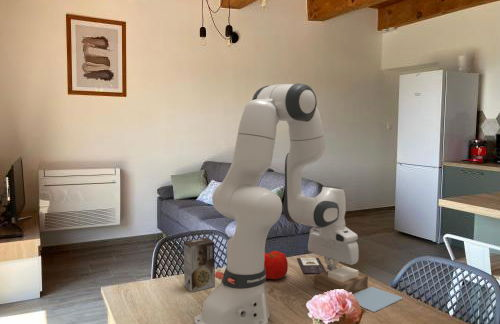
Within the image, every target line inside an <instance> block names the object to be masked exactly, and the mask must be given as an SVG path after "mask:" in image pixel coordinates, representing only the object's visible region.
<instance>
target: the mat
mask: <svg viewBox="0 0 500 324" xmlns="http://www.w3.org/2000/svg"><path fill="white" fill-rule="evenodd" d="M353 294H354V295H355V298H356V299H357V301H358V302H359V304H360V305H361V306H362V307H363V308H362V309H364V308H365V309H364V310H366V309H368V310H367V311H369V310H370V311H369V312H371V311H372V312H371V313H377V312H379V311H381V310H382V309H385V308H387V307H389V306H391V305H394V304H396V303H397V302H400V301H402V300H403V299H404V297H402V296H399V295H396V294H394V293H391V292H388V291H385V290H382V289H380V288H376V287H374V286H371V287H367V288H365V289H362V290H360V291H357V292H355V293H353ZM378 310H379V311H378ZM376 311H377V312H376Z"/></svg>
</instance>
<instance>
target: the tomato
mask: <svg viewBox="0 0 500 324" xmlns="http://www.w3.org/2000/svg"><path fill="white" fill-rule="evenodd" d="M264 267H265V269H266V280H278V279H281V278H283V277H285V276H286V275H287V273H288V270H289V269H288V268H289V265H288V259H287V257H286V254H284V252H280V251H278V250H273V251H270V252H268V253H267V252H265V254H264Z"/></svg>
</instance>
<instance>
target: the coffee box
mask: <svg viewBox="0 0 500 324" xmlns="http://www.w3.org/2000/svg"><path fill="white" fill-rule="evenodd" d="M215 261H216V260H215V241H213V240H211V239H210V238H207V237H204V238H198V239H197V238H196V239H192V240H187V241H185V240H184V241H183V269H184V270H183V275H184V277H183V278H184V279H183V280H184V281H183V282H184V283H183V285H184V288H186V289H187V290H188V291H190V292H191V293H194V292H198V291H202V290H207V289H211V288H215V287H216V277H215V275H216V274H215V273H216V270H215V263H216V262H215Z"/></svg>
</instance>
